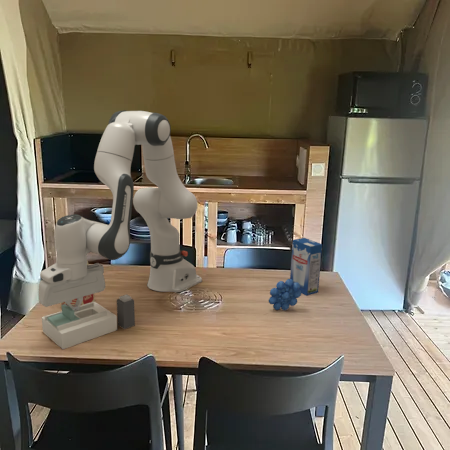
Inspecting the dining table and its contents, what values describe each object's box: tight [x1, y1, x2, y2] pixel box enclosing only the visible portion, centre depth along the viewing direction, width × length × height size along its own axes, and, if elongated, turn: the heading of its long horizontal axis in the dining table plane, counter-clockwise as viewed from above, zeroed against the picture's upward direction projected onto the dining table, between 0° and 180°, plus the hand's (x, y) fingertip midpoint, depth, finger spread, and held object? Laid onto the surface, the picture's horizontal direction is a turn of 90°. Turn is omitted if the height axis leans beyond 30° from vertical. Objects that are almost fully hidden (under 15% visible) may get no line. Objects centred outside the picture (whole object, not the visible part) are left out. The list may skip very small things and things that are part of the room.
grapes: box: [268, 278, 303, 311], centre depth 162 cm, size 12×7×12 cm, turn 95°
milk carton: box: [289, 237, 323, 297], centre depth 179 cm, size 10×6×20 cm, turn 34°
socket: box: [41, 301, 118, 350], centre depth 143 cm, size 18×14×6 cm
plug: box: [116, 294, 136, 330], centre depth 147 cm, size 4×4×10 cm
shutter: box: [48, 304, 80, 327], centre depth 138 cm, size 7×7×4 cm
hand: (74, 311), depth 141 cm, fingers closed
